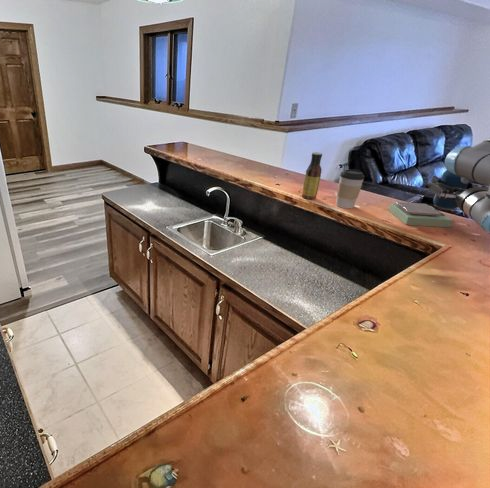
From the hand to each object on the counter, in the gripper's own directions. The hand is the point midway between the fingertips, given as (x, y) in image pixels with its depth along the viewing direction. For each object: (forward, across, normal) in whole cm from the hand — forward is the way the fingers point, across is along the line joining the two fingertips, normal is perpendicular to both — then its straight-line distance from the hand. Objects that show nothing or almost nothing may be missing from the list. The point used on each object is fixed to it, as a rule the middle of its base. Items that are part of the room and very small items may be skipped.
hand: (446, 181), depth 113 cm
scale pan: (+17, +1, -16) cm, 23 cm away
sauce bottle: (+29, -38, -20) cm, 51 cm away
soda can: (-5, 0, -7) cm, 9 cm away
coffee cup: (+23, -23, -20) cm, 38 cm away
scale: (+17, +2, -20) cm, 26 cm away
